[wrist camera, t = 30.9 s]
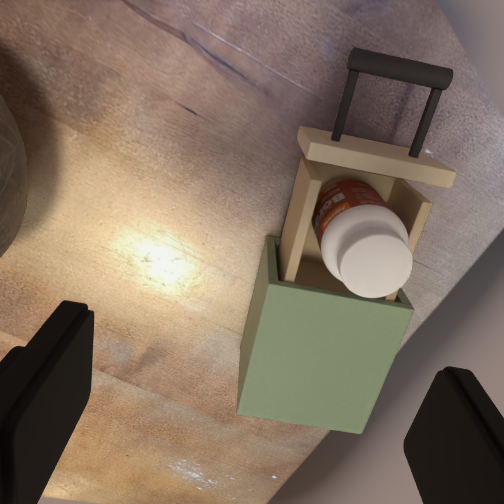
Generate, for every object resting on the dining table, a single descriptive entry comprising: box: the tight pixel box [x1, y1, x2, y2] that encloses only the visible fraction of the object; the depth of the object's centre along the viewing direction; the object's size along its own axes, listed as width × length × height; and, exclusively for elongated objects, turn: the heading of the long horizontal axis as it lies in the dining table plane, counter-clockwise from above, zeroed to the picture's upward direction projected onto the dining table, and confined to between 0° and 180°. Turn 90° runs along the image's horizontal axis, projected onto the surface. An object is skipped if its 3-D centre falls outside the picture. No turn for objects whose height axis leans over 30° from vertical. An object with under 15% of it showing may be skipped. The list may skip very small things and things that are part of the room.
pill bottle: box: [311, 178, 413, 298], centre depth 32 cm, size 6×6×11 cm
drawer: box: [276, 47, 457, 302], centre depth 33 cm, size 19×10×8 cm, turn 169°
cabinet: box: [236, 236, 414, 434], centre depth 39 cm, size 14×12×10 cm
